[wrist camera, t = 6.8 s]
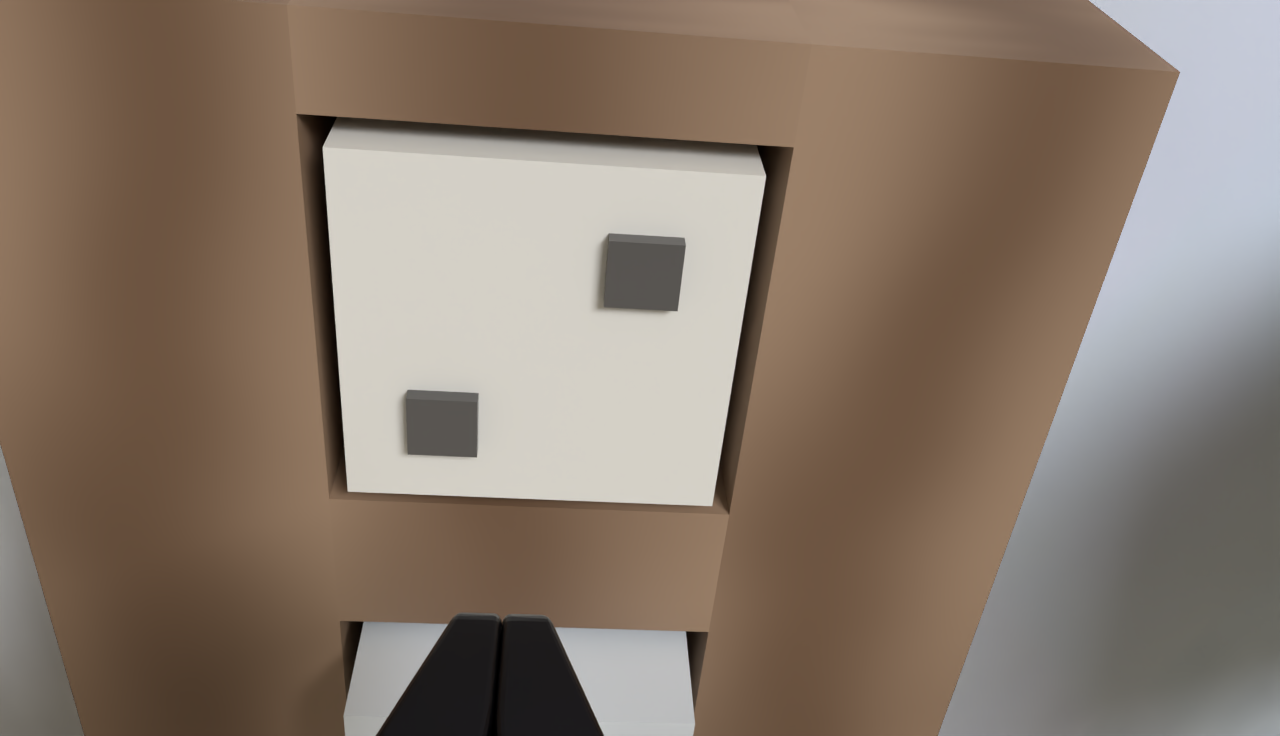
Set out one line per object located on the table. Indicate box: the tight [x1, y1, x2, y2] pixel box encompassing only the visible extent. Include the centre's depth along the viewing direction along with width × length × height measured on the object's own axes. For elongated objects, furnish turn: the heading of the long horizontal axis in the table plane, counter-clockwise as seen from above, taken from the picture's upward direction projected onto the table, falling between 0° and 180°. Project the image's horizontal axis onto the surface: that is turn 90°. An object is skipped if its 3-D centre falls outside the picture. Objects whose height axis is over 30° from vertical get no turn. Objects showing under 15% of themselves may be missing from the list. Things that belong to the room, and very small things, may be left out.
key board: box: [0, 0, 1180, 736], centre depth 20 cm, size 14×24×3 cm, turn 175°
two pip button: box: [323, 117, 766, 506], centre depth 15 cm, size 5×5×3 cm
